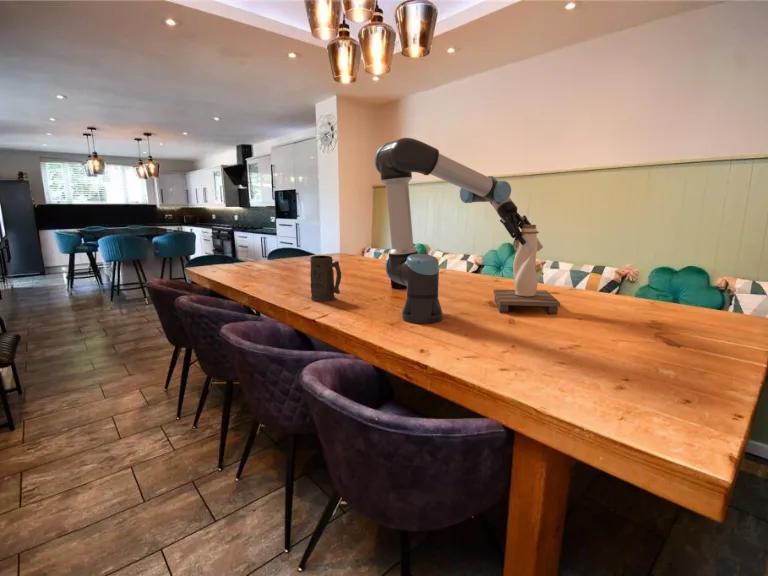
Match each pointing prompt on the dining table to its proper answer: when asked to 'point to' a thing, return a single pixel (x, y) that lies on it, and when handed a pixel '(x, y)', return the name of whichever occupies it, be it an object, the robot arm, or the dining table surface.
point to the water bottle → (526, 263)
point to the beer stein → (324, 278)
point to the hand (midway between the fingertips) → (535, 249)
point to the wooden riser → (526, 300)
